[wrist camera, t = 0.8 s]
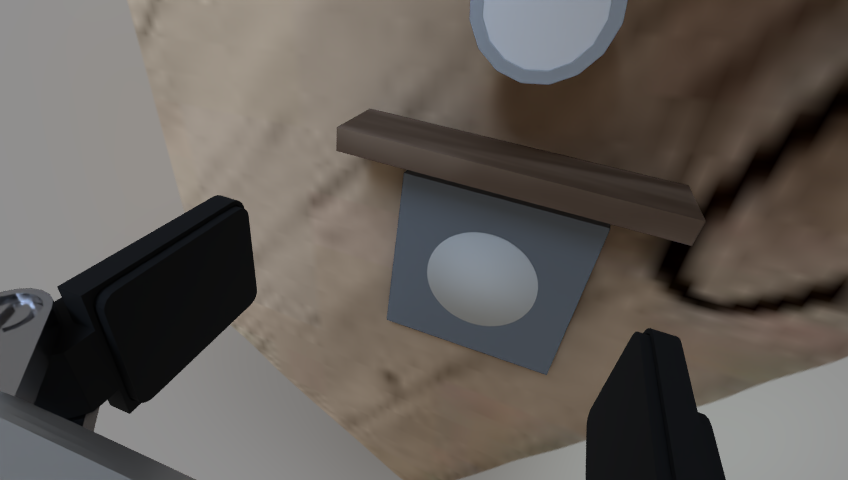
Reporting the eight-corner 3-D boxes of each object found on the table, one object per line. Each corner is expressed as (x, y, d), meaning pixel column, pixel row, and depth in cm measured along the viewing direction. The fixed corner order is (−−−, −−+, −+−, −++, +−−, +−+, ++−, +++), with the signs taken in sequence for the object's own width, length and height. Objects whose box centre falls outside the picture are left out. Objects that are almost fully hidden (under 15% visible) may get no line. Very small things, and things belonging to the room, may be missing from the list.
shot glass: (651, -20, 23) (670, -22, 17) (559, 87, 27) (550, 115, 21) (550, -105, 23) (536, -135, 17) (473, 16, 26) (440, 25, 21)
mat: (408, 168, 33) (403, 173, 32) (609, 221, 30) (610, 229, 29) (390, 313, 41) (386, 320, 40) (547, 366, 38) (546, 375, 37)
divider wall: (370, 108, 32) (337, 127, 28) (688, 185, 27) (705, 221, 23) (368, 129, 32) (336, 150, 28) (677, 207, 28) (691, 245, 24)
